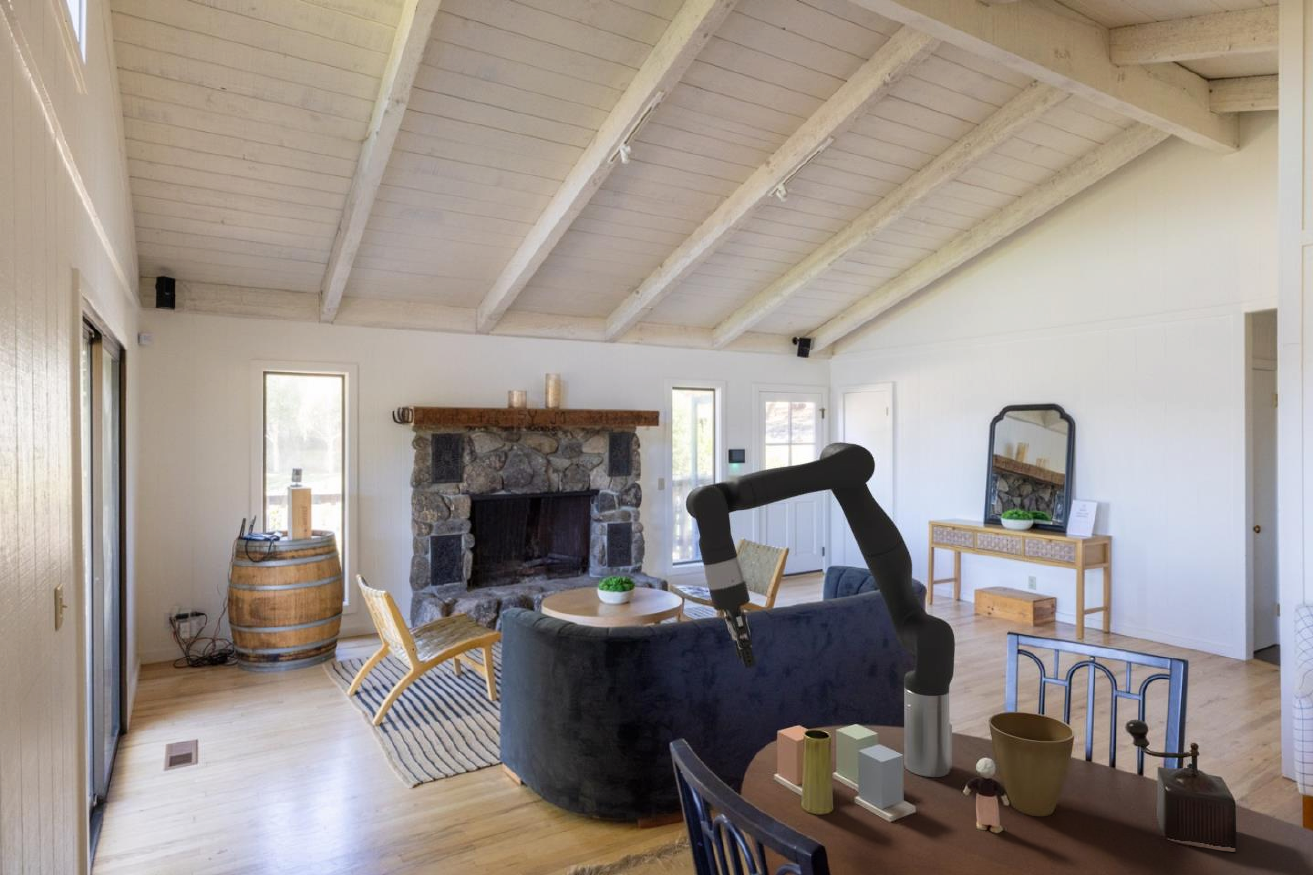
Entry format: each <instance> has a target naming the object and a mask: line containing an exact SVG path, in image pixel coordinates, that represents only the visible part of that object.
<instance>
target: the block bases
mask: <svg viewBox="0 0 1313 875" xmlns="http://www.w3.org/2000/svg"><path fill="white" fill-rule="evenodd" d="M832 779H834V780H836V781H837V782H840V783H842V784H843V785H845V786H847V787H849V788H850V789H852V790H854V789H855V790H854V791H856V792H858V783H856V782H854V781H852V780H850V779H848V778H846V777H844V776H842V775H840V774H838V773H837V772H836V771H835V772H832ZM773 780H774V781H776V782H777V783H779V784H780V785H783V786H784V787H786V788H787V789H789V790H790V791H793V792H795V793H796V794H798V795H799V796H801V797H802V784H803V783H802V784H799V785H796V784H794V783H792V782H791V781H789V780H787V779H785V778H784V777H782V776H780V775H779V774H777V773H775V774H773ZM854 803H855V804H857V805H859V807H862V808H864V809H866V810H868V811H869V812H871V813H873V814H874V815H877V816H879V817H880V818H881V819H883V820H886V821H887V822H889V823H891V822H893V821H896V820H898V819H901V818H903V817H907V816H909V815H911V814H914V813H916V810H917V808H916V806H915V805H913V804H911V803H910V802H907V801H906V800H904V801H903V802H900V803H897V804H895V805H892V806H889V807H887V808H884V809H881V808H879V807H877V806H875V805H873V804H871V803H870V802H868V801H866V800H864V799H862V798H860V797H858V795H857V796H855V797H854Z"/></svg>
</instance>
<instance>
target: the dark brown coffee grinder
mask: <svg viewBox="0 0 1313 875" xmlns="http://www.w3.org/2000/svg"><path fill="white" fill-rule="evenodd" d="M1125 731H1126V732H1127V733H1128V734H1129V735H1130V736H1131V737H1132V739H1133V741H1132V745H1133V746H1135V747H1139V748H1140V750H1141V751H1142V752H1143V753H1144V754H1147V755H1148V756H1152V757H1158V758H1165V759H1168V758H1169V759H1183V758H1189V757H1191V763H1186V766H1187V767H1182V768H1168V767H1162V766H1157V770H1156V772H1157V806H1156V812H1155V814H1156V820H1157V819H1158V820H1157V823H1158V822H1159V823H1158V824H1159V825H1160V826H1159V825H1158V826H1159V829H1160V828H1161V829H1160V830H1162V831H1161V833H1162V832H1163V833H1164V835H1165V836H1164V835H1163V836H1164V838H1165V837H1166V838H1169V839H1174V840H1180V841H1191V842H1197V843H1198V842H1199V843H1204V844H1209V845H1213V846H1221V847H1231V848H1236V849H1237V812H1236V811H1237V810H1236V809H1237V808H1236V807H1237V806H1236V800H1235V797H1234V796H1233V794H1232V792H1231V790H1230V788H1229V787H1228V786H1227V783H1226V782H1225V781H1224V779H1223V778H1222V776H1218V775H1212V774H1207V773H1205V772H1204V771H1202V770H1200V769H1198V757H1199V756H1200V752H1199V748H1200V747H1199V745H1198V744H1197V742H1191V743H1190V745H1189V746H1190V749H1189V751H1187V752H1186V751H1185V752H1162V751H1161V752H1159V751H1153V750H1150V749H1149V748H1148V747H1149V745H1150V741H1149V740H1148V738H1147V735H1148V733H1149V726H1148V724H1147V723H1146V722H1144V720H1143V721H1142V720H1140V719H1131V720H1129V721H1127V722H1126V723H1125ZM1163 833H1162V834H1163ZM1166 838H1165V839H1166Z"/></svg>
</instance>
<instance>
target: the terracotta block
mask: <svg viewBox="0 0 1313 875" xmlns="http://www.w3.org/2000/svg"><path fill="white" fill-rule="evenodd" d="M806 730H809V729H808V728H806V727H803V726H802V725H794V726H791V727H788V728H784V729H780V730H777V732H776V734H777V735H776V737H777V738H776V741H777V744H776V746H777V749H776V752H777V756H776V757H777V758H776V759H777V765H776V766H777V767H776V768H777V769H776V770H777V771H776V774H779V775H780V776H782V777H784V778H785V779H787V780H789V781H791V782H792V783H794V784H796V785H799V784H802V783H803V752H804V732H805V731H806Z"/></svg>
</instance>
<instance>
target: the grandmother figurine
mask: <svg viewBox="0 0 1313 875" xmlns="http://www.w3.org/2000/svg"><path fill="white" fill-rule="evenodd" d="M975 767H976V768H975V771H977V772H978V773H979V775H980V776H981V777H980V776H978V777H973V778H971V779H970V780H968V781H967V782H966V783H965V787H964V789H963V791H962V792H963V794H964V795H965V796H968V795H970V792H971V791H976V790H977V792H976V798H975V801H976V802H975V810H976V812H975V813H976V828H977V829H978V830H982V831H986V830H987V829H988V826H989V825H990V828H989V832H992V833H995V834H999V833H1001V832H1003V830H1004V828H1003V826H1002V825H1001V824H1000V823H1001V822H1000V811H999V810H1000V809H999V800H998V797H997V794H998V795H999V797H1000V799H1001V801H1002V803H1003V805H1004V806H1009V805H1010V800H1008V799H1009V797H1008V795H1007V792H1006V790H1005V788H1003V787H1002V785H1001V784H1000V783H999V781H997V780H996V779H993V778H992V777H994V775H995V774H996V772H995V771H996V764H995V761H994V760H993V759H991V758H989V757H983V758H980V759H979V760H978V762H977V763H976V765H975Z"/></svg>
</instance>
